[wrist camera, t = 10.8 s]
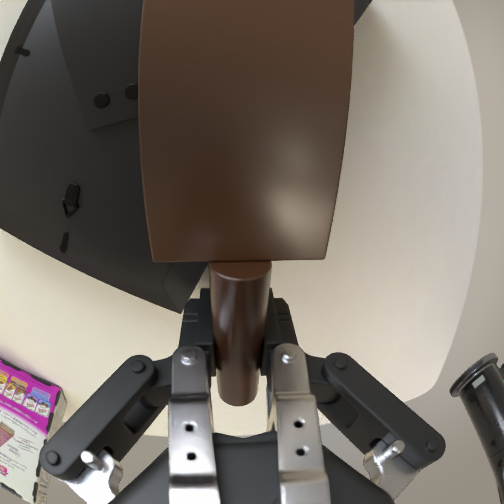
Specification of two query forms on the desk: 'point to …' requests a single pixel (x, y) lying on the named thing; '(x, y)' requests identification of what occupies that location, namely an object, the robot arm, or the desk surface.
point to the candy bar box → (26, 431)
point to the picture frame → (83, 145)
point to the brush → (242, 150)
